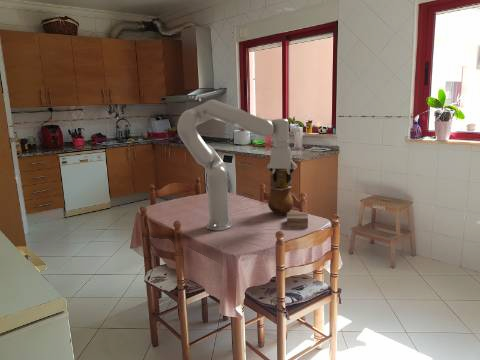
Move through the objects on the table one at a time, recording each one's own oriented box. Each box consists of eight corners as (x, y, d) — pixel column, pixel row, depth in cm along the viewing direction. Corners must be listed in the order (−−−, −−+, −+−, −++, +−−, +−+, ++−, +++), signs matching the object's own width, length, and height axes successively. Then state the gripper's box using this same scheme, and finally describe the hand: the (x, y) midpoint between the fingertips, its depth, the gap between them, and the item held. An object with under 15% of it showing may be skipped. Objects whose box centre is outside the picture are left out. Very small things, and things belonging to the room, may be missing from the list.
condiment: (292, 187, 186) (292, 163, 183) (281, 190, 180) (281, 165, 177) (280, 185, 191) (280, 161, 188) (270, 188, 185) (269, 164, 183)
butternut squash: (296, 211, 209) (296, 167, 203) (288, 219, 197) (288, 171, 191) (273, 209, 215) (272, 165, 209) (263, 215, 203) (263, 170, 198)
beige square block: (307, 228, 183) (307, 218, 182) (287, 228, 185) (287, 218, 184) (307, 221, 193) (307, 212, 192) (287, 221, 194) (287, 212, 193)
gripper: (261, 145, 181) (262, 182, 185) (296, 146, 174) (296, 184, 178) (267, 143, 188) (268, 179, 192) (300, 144, 180) (301, 180, 184)
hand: (282, 181), depth 185 cm, fingers closed on condiment, 6 cm apart
